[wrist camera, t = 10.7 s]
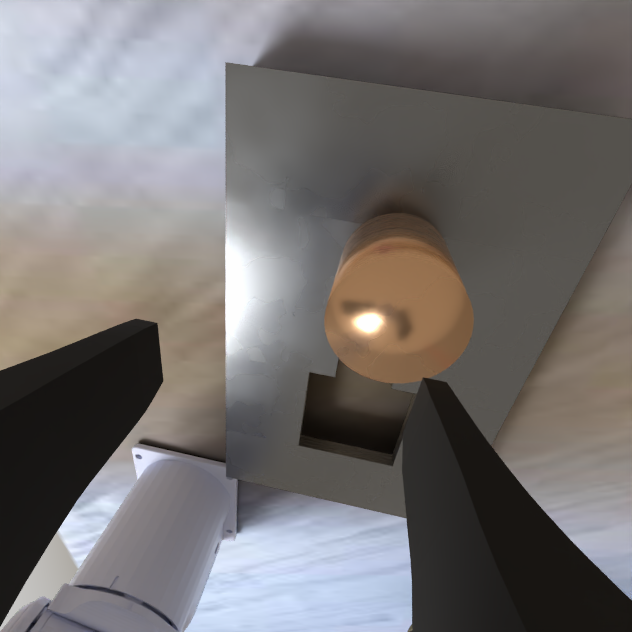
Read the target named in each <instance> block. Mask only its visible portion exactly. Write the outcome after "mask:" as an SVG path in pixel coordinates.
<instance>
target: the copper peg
mask: <svg viewBox="0 0 632 632" xmlns="http://www.w3.org/2000/svg"><path fill="white" fill-rule="evenodd" d="M473 324H474V316H473V309H472V305H471V301H470V299H469V297H468V294H467V292H466V290H465V287H464V285H463V283H462V280H461V278H460V276H459V273H458V271H457V268H456V266H455V264H454V261H453V259H452V257H451V254H450V252H449V250H448V247H447V245H446V243H445V240H444V239H443V237H442V235H441V234H440V233H439V232H438V230H437V229H436V228H435V227H434V226H432V225H431V224H430V223H428V222H427V221H425V220H424V219H421V218H419V217H417V216H414V215H410V214H404V213H391V214H385V215H380V216H378V217H375V218H372V219H371V220H369V221H367V222H365V223H364V224H362V225H361V226H360V227H359V228H357V229H356V230H355V231H354V233H353V234H352V235H351V236H350V238H349V239H348V241H347V243H346V245H345V247H344V250H343V253H342V256H341V259H340V263H339V266H338V269H337V273H336V276H335V279H334V283H333V286H332V289H331V293H330V296H329V299H328V303H327V306H326V310H325V316H324V326H325V332H326V336H327V339H328V342H329V344H330V346H331V348H332V349H333V351H334V353H335V354H336V355H337V357H338V358H339V359H340V360H341V361H342V362H343V363H344V364H345V365H346V366H348V367H349V368H350V369H352V370H353V371H355V372H357V373H358V374H360V375H362V376H365V377H367V378H370V379H373V380H376V381H380V382H386V383H411V382H416V381H421V380H422V378H423V377H424V378H430V377H432V376H435V375H437V374H439V373H440V372H442V371H444V370H445V369H447V368H448V367H449V366H451V365H452V364H453V363H454V362H455V361H456V360H457V359H458V358H459V357H460V356H461V354H462V353H463V352H464V350H465V349H466V347H467V345H468V343H469V341H470V338H471V335H472V331H473Z"/></svg>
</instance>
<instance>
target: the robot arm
mask: <svg viewBox="0 0 632 632" xmlns="http://www.w3.org/2000/svg"><path fill="white" fill-rule="evenodd" d="M162 383H163V373H162V364H161V354H160V344H159V334H158V325H157V323H154V322H150V321H145V320H140V319H134V320H131V321H128V322H125V323H122V324H120V325H117V326H114V327H112V328H109V329H107V330H104V331H102V332H99V333H97V334H94V335H92V336H90V337H87V338H85V339H82V340H80V341H77V342H75V343H72V344H70V345H67V346H65V347H62V348H60V349H57V350H55V351H52V352H50V353H47V354H44V355H42V356H39V357H36V358H34V359H31V360H28V361H25V362H23V363H20V364H17V365H15V366H12V367H9V368H7V369H4V370H1V371H0V626H1V624H2V623H3V621H4V619H5V617H6V616H7V614H8V612H9V610H10V609H11V607H12V605H13V603H14V602H15V600H16V598H17V596H18V595H19V593H20V591H21V589H22V588H23V586H24V584H25V582H26V581H27V579H28V578H29V576H30V574H31V573H32V571H33V569H34V568H35V566H36V564H37V563H38V561H39V560H40V558H41V556H42V555H43V553H44V551H45V550H46V548H47V547H48V545H49V543H50V542H51V540H52V538H53V537H54V535H55V534H56V532H57V531H58V529H59V528H60V526H61V525H62V523H63V521H64V520H65V518H66V517H67V515H68V514H69V512H70V511H71V509H72V508H73V506H74V504H75V503H76V501H77V500H78V499H79V497H80V496H81V494H82V493H83V492H84V490H85V489H86V488H87V486H88V485H89V483H90V482H91V481H92V480H93V478H94V477H95V476H96V475H97V473H98V472H99V471H100V469H101V468H102V467H103V466H104V464H105V463H106V462H107V461H108V459H109V458H110V457H111V456H112V454H113V453H114V452H115V450H116V449H117V448H118V447H119V445H120V444H121V443H122V442H123V440H124V439H125V438H126V437H127V435H128V434H129V433H130V431H131V430H132V429H133V427H134V426H135V425H136V424H137V422H138V421H139V420H140V418H141V417H142V416H143V414H144V413H145V412H146V410H147V408H148V407H149V405H150V403H151V402H152V400H153V398H154V397H155V395H156V393H157V391H158V390H159V388H160V386H161V384H162ZM132 453H133V459H134V464H135V469H136V474H137V479H138V480H137V482H136V483H135V485H134V486H133V488H132V489H131V491H130V492H129V494H128V495H127V497H126V498H125V500H124V501H123V503H122V504H121V506H120V507H119V509H118V510H117V512H116V513H115V515H114V516H113V518H112V519H111V521H110V522H109V524H108V525H107V527H106V528H105V530H104V531H103V533H102V534H101V536H100V538H99V539H98V541H97V542H96V544H95V545H94V547H93V548H92V550H91V551H90V553H89V554H88V556H87V557H86V559H85V560H84V562H83V563H82V565H81V566H80V568H79V569H78V571H77V572H76V574H75V576H74V577H73V578H72V580H71V581H70V583H69V584H66V583H65V584H63V585H62V587H61V589H60V590H59V591H58V593H57V594H56V596H55V597H54V599H53V600H52V601H51V600H50V599H48V598H46V597H40V598H38V599H37V600H36V601H33V602H31V603H29V604H27V605H24V606H23V607H22V608H21V609H19V611H18V612H17V613H16V614H15V615H14V616H13V617H12V618H11V619H10V620H9V622H8V623H7V624H6V625H5V627H4V628H3V629H2V630H1V631H0V632H184V631H185V629H186V628H187V627H188V625H189V623H190V622H191V620H192V618H193V616H194V614H195V612H196V609H197V606H198V604H199V601H200V598H201V596H202V593H203V590H204V588H205V585H206V582H207V580H208V577H209V574H210V572H211V569H212V566H213V564H214V561H215V558H216V556H217V553H218V550H219V548H220V545H221V542H222V540H227V541H234V540H235V538H236V529H237V489H238V479H234V478H229V477H226V463H222V462H218V461H214V460H209V459H205V458H200V457H196V456H192V455H187V454H183V453H178V452H174V451H170V450H165V449H161V448H156V447H152V446H148V445H143V444H135V445H134V447H133V448H132ZM402 475H403V486H404V497H405V507H406V517H407V527H408V538H409V548H410V558H411V573H412V632H632V600H631V599H630V598H628V597H627V596H626V595H625V594H624V593H623V592H622V591H621V590H620V589H619V588H618V587H617V586H616V585H615V584H614V583H613V582H612V581H611V580H610V579H609V578H608V577H607V576H606V575H605V574H604V573H603V572H602V571H601V570H600V569H599V568H598V567H597V566H596V565H595V564H594V563H593V562H592V561H591V560H589V559H588V557H587V556H586V555H585V554H584V553H583V552H582V551H581V550H580V549H579V548H578V547H577V546H576V545H575V544H574V543H573V542H572V541H571V540H570V539H569V538H568V537H567V536H566V535H565V534H564V532H563V531H562V530H561V529H560V528H559V527H558V526H557V525H556V524H555V523H554V521H553V520H552V519H551V518H550V517H549V516H548V515H547V514H546V513H545V512H544V511H543V509H542V508H541V507H540V506H539V505H538V504H537V503H536V501H535V500H534V499H533V498H532V497H531V496H530V495H529V493H528V492H527V491H526V490H525V489H524V487H523V486H522V485H521V484H520V482H519V481H518V480H517V479H516V477H515V476H514V475H513V474H512V472H511V471H510V470H509V469H508V468H507V466H506V465H505V464H504V462H503V461H502V460H501V458H500V457H499V456H498V455H497V453H496V452H495V451H494V449H493V448H492V446H491V445H490V444H489V442H488V441H487V440H486V438H485V437H484V436H483V434H482V433H481V431H480V430H479V428H478V427H477V426H476V424H475V423H474V421H473V420H472V418H471V417H470V415H469V414H468V413H467V411H466V410H465V408H464V407H463V405H462V404H461V402H460V401H459V399H458V398H457V396H456V395H455V393H454V392H453V390H452V389H451V387H450V386H449V385H448V383H447V382H444V381H439V380H434V379H429V378H424V377H423V378H422V381H421V384H420V387H419V389H418V392H417V395H416V398H415V401H414V403H413V406H412V409H411V412H410V415H409V417H408V420H407V423H406V426H405V429H404V431H403V448H402Z"/></svg>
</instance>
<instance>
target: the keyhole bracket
mask: <svg viewBox="0 0 632 632" xmlns="http://www.w3.org/2000/svg"><path fill="white" fill-rule="evenodd" d="M631 184H632V119H628V118H620V117H613V116H606V115H599V114H592V113H585V112H577V111H570V110H563V109H556V108H549V107H541V106H534V105H527V104H520V103H513V102H506V101H498V100H491V99H484V98H477V97H470V96H463V95H455V94H448V93H441V92H434V91H427V90H420V89H412V88H405V87H398V86H391V85H384V84H377V83H369V82H362V81H355V80H348V79H341V78H334V77H326V76H319V75H312V74H305V73H298V72H291V71H283V70H276V69H269V68H262V67H255V66H248V65H240V64H233V63H226V477H229V478H234V479H238V480H242V481H247V482H251V483H255V484H260V485H264V486H269V487H273V488H277V489H282V490H286V491H290V492H295V493H299V494H303V495H308V496H312V497H316V498H321V499H325V500H329V501H334V502H338V503H342V504H347V505H351V506H355V507H360V508H364V509H369V510H373V511H377V512H382V513H386V514H390V515H395V516H399V517H403V518H407V517H406V507H405V497H404V486H403V475H402V448H403V431H404V429H405V426H406V423H407V420H408V417H409V415H410V412H411V409H412V406H413V403H414V401H415V398H416V395H417V392H418V389H419V387H420V384H421V381H422V380H421V381H416V382H411V383H391V389H395V390H400V391H405V392H410V393H414V394H413V397H412V400H411V402H410V405H409V408H408V411H407V414H406V417H405V420H404V423H403V426H402V429H401V432H400V434H399V437H398V440H397V443H396V446H395V449H394V452H393V455H391V454H387V453H382V452H378V451H373V450H368V449H364V448H359V447H355V446H350V445H345V444H341V443H336V442H332V441H327V440H322V439H318V438H313V437H309V436H304V435H301V433H302V426H303V419H304V412H305V406H306V399H307V392H308V385H309V379H310V372H312V373H317V374H321V375H326V376H331V377H335V374H336V369H337V364H338V359H339V358H338V357H337V355H336V354H335V353H334V351H333V349H332V348H331V346H330V344H329V342H328V339H327V336H326V332H325V326H324V316H325V310H326V306H327V303H328V299H329V296H330V293H331V289H332V286H333V283H334V279H335V276H336V273H337V269H338V266H339V263H340V259H341V256H342V253H343V250H344V247H345V245H346V243H347V241H348V239H349V238H350V236H351V235H352V234H353V233H354V231H355V230H356V229H357V228H359V227H360V226H361V225H362V224H364V223H365V222H367V221H369V220H371V219H372V218H375V217H378V216H380V215H385V214H391V213H404V214H410V215H414V216H417V217H419V218H421V219H424V220H425V221H427V222H428V223H430V224H431V225H432V226H434V227H435V228H436V229H437V230H438V232H439V233H440V234H441V235H442V237H443V239H444V240H445V243H446V245H447V247H448V250H449V252H450V254H451V257H452V259H453V261H454V264H455V266H456V268H457V271H458V273H459V276H460V278H461V280H462V283H463V285H464V287H465V290H466V292H467V294H468V297H469V299H470V301H471V305H472V309H473V316H474V324H473V331H472V335H471V338H470V341H469V343H468V345H467V347H466V349H465V350H464V352H463V353H462V354H461V356H460V357H459V358H458V359H457V360H456V361H455V362H454V363H453V364H452V365H451V366H449V367H448V368H447V369H445V370H444V371H442V372H440V373H439V374H437V375H435V376H432V377H430V378H429V379H434V380H439V381H444V382H447V383H448V385H449V386H450V387H451V389H452V390H453V392H454V393H455V395H456V396H457V398H458V399H459V401H460V402H461V404H462V405H463V407H464V408H465V410H466V411H467V413H468V414H469V415H470V417H471V418H472V420H473V421H474V423H475V424H476V426H477V427H478V428H479V430H480V431H481V433H482V434H483V436H484V437H485V438H486V440H487V441H488V442H489V444H490V445H492V443H493V441H494V439H495V437H496V435H497V434H498V432H499V430H500V428H501V426H502V424H503V422H504V421H505V419H506V417H507V415H508V413H509V411H510V409H511V407H512V406H513V404H514V402H515V400H516V398H517V396H518V394H519V393H520V391H521V389H522V387H523V385H524V383H525V381H526V380H527V378H528V376H529V374H530V372H531V370H532V368H533V366H534V365H535V363H536V361H537V359H538V357H539V355H540V353H541V352H542V350H543V348H544V346H545V344H546V342H547V340H548V339H549V337H550V335H551V333H552V331H553V329H554V327H555V325H556V324H557V322H558V320H559V318H560V316H561V314H562V312H563V311H564V309H565V307H566V305H567V303H568V301H569V299H570V298H571V296H572V294H573V292H574V290H575V288H576V286H577V285H578V283H579V281H580V279H581V277H582V275H583V273H584V271H585V270H586V268H587V266H588V264H589V262H590V260H591V258H592V257H593V255H594V253H595V251H596V249H597V247H598V245H599V244H600V242H601V240H602V238H603V236H604V234H605V232H606V230H607V229H608V227H609V225H610V223H611V221H612V219H613V217H614V216H615V214H616V212H617V210H618V208H619V206H620V204H621V203H622V201H623V199H624V197H625V195H626V193H627V191H628V189H629V188H630V186H631Z"/></svg>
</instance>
